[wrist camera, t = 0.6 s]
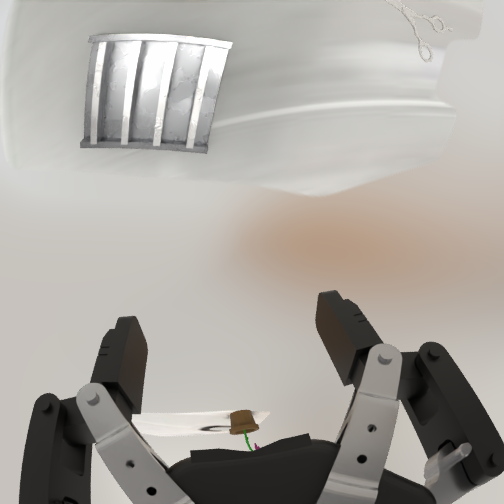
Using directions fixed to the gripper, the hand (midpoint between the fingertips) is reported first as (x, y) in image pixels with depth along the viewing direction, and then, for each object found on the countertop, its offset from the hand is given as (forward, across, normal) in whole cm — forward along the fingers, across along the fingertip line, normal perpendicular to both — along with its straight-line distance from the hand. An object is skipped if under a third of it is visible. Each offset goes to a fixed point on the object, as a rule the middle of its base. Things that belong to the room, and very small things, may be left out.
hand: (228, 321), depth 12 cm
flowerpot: (+58, +1, +116) cm, 130 cm away
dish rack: (+25, +6, -13) cm, 29 cm away
